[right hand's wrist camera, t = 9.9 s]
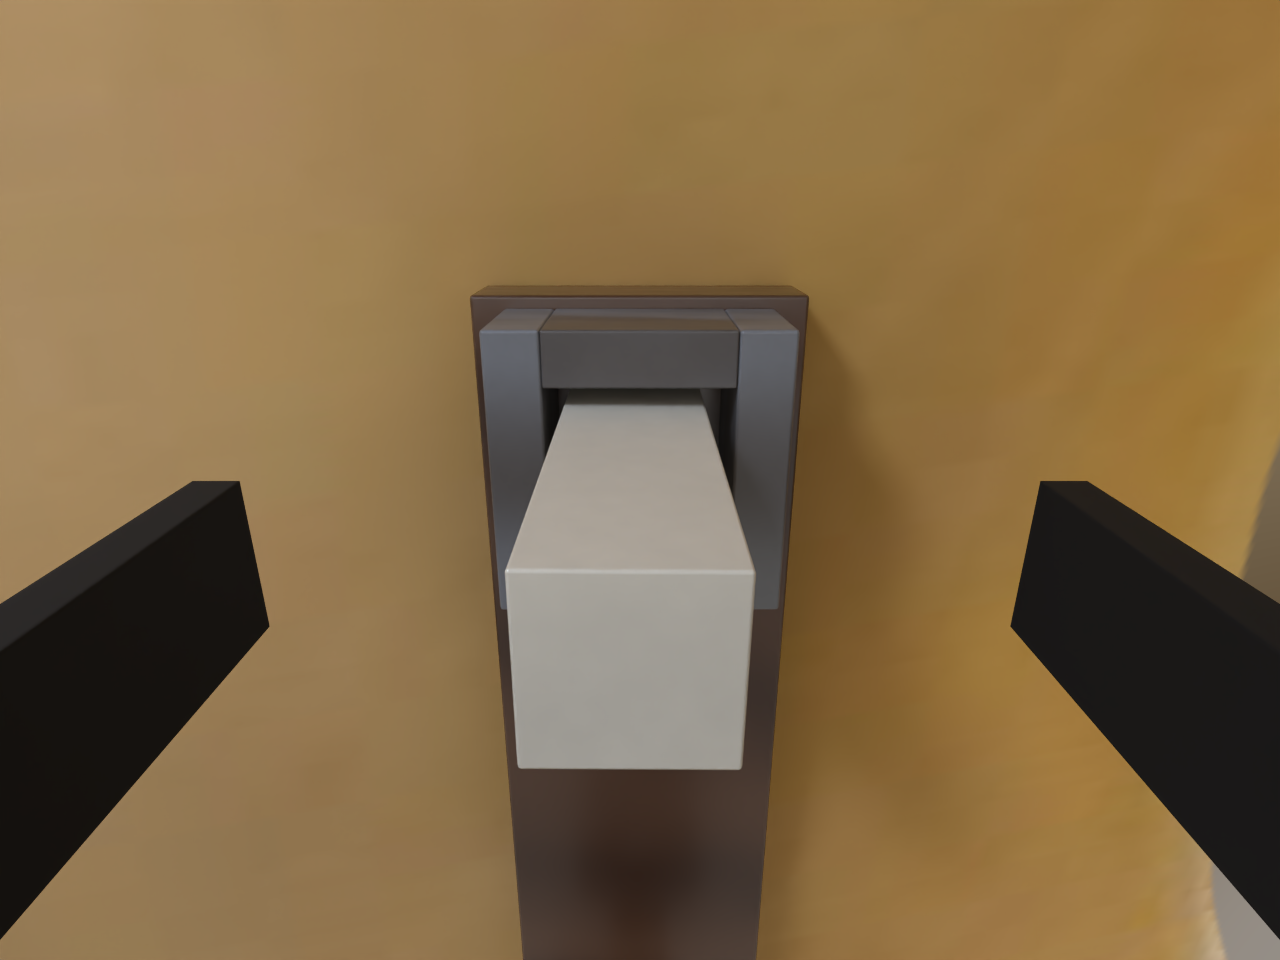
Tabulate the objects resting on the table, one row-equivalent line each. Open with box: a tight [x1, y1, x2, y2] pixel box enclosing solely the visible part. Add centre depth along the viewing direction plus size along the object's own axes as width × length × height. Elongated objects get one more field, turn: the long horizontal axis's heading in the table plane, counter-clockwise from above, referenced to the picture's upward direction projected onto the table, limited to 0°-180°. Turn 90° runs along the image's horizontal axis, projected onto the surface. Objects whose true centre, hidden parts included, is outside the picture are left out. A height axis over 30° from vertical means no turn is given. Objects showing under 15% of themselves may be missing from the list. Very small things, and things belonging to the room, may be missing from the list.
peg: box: [505, 389, 756, 770], centre depth 14 cm, size 3×3×10 cm
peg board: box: [470, 286, 809, 960], centre depth 22 cm, size 38×8×8 cm, turn 0°
